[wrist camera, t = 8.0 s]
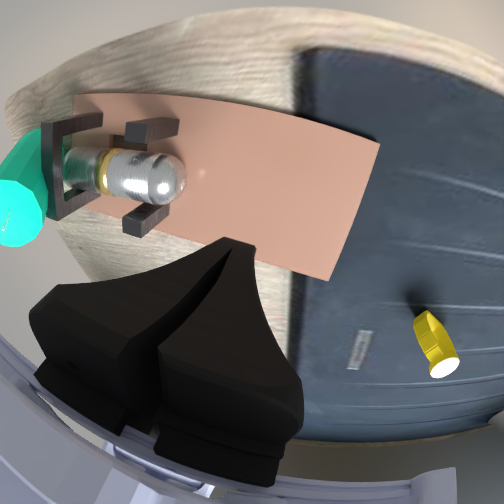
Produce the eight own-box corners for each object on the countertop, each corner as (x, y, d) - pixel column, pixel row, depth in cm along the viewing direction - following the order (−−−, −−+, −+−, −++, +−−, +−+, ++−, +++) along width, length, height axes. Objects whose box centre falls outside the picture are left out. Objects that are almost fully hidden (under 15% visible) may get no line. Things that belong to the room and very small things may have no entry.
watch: (451, 322, 21) (469, 369, 16) (430, 338, 22) (445, 385, 17) (424, 296, 20) (446, 348, 15) (401, 315, 21) (417, 368, 16)
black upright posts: (180, 119, 17) (133, 126, 12) (169, 214, 21) (129, 248, 16) (90, 112, 18) (41, 122, 13) (89, 193, 22) (46, 216, 17)
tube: (197, 150, 18) (171, 166, 15) (194, 196, 20) (171, 220, 17) (78, 140, 19) (49, 153, 16) (82, 176, 21) (55, 193, 18)
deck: (377, 142, 15) (380, 144, 15) (328, 276, 21) (328, 281, 21) (78, 94, 18) (74, 94, 17) (76, 201, 23) (73, 204, 23)
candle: (62, 122, 19) (27, 182, 11) (68, 176, 23) (49, 256, 15) (11, 134, 16) (-41, 201, 9) (21, 185, 20) (-12, 267, 13)
